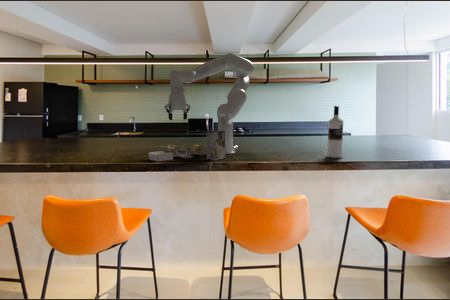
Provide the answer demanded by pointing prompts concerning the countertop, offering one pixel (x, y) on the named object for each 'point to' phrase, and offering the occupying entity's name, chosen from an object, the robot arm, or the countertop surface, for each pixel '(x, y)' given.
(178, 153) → the stand
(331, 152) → the vodka
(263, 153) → the countertop surface
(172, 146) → the launcher
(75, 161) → the countertop surface
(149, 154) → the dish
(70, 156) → the countertop surface
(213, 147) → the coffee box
